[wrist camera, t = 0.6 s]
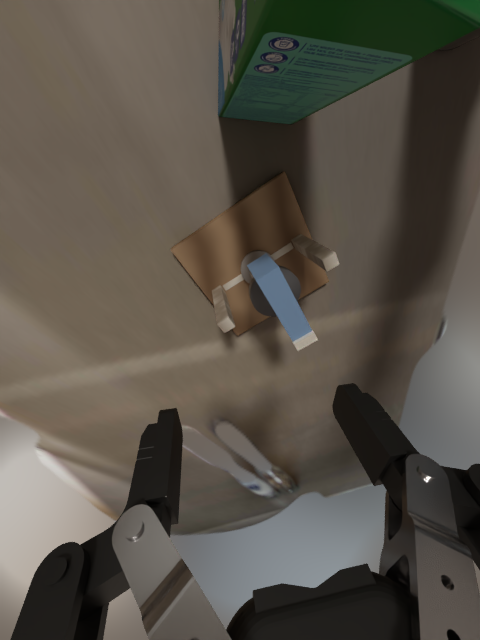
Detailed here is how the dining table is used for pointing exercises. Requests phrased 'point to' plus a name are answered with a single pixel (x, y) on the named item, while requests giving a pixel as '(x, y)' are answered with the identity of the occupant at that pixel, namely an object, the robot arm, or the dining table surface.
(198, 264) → the base plate
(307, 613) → the robot arm
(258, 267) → the blue long block
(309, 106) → the milk carton
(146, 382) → the dining table surface
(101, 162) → the dining table surface
